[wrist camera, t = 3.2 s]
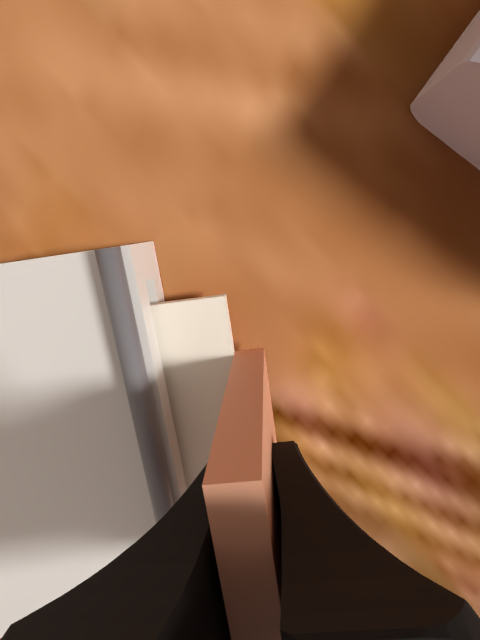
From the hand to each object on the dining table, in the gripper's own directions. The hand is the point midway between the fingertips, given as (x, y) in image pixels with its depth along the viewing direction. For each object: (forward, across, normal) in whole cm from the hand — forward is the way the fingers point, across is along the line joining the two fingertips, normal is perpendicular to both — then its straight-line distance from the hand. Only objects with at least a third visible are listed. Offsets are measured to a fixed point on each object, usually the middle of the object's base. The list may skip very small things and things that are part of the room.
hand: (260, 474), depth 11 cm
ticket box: (+4, +9, 0) cm, 10 cm away
